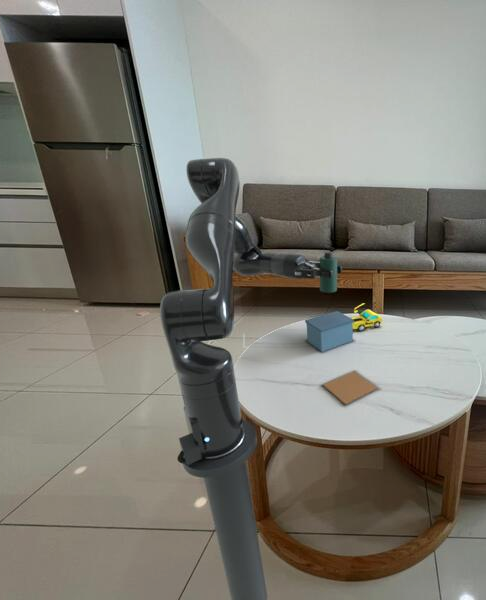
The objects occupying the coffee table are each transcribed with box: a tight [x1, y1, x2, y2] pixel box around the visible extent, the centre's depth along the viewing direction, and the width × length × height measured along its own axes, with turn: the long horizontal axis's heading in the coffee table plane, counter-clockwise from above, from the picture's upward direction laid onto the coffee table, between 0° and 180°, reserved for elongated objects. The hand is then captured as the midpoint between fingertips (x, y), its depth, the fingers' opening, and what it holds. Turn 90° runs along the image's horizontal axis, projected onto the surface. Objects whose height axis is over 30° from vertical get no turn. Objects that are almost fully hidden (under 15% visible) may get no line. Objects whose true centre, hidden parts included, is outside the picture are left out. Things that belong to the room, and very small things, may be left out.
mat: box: [322, 371, 378, 406], centre depth 84 cm, size 10×10×1 cm
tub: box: [304, 310, 354, 353], centre depth 106 cm, size 13×10×8 cm
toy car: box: [350, 302, 383, 332], centre depth 117 cm, size 12×8×8 cm, turn 120°
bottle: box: [319, 251, 338, 294], centre depth 97 cm, size 5×5×12 cm
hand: (336, 271), depth 96 cm, fingers closed on bottle, 5 cm apart
